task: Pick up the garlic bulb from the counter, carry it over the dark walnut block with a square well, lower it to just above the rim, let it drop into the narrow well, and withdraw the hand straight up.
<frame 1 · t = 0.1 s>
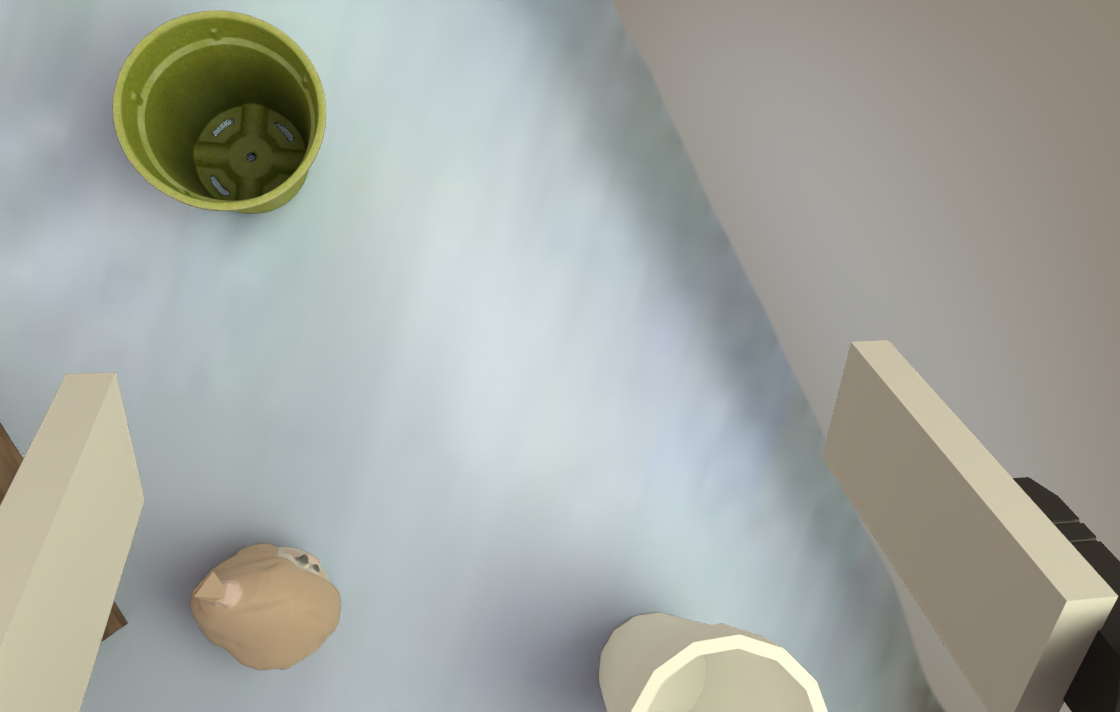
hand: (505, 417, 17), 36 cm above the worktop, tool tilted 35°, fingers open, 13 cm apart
plant pot: (252, 162, 52), on the worktop
foam cup: (651, 668, 54), on the worktop
garlic bulb: (278, 594, 51), on the worktop
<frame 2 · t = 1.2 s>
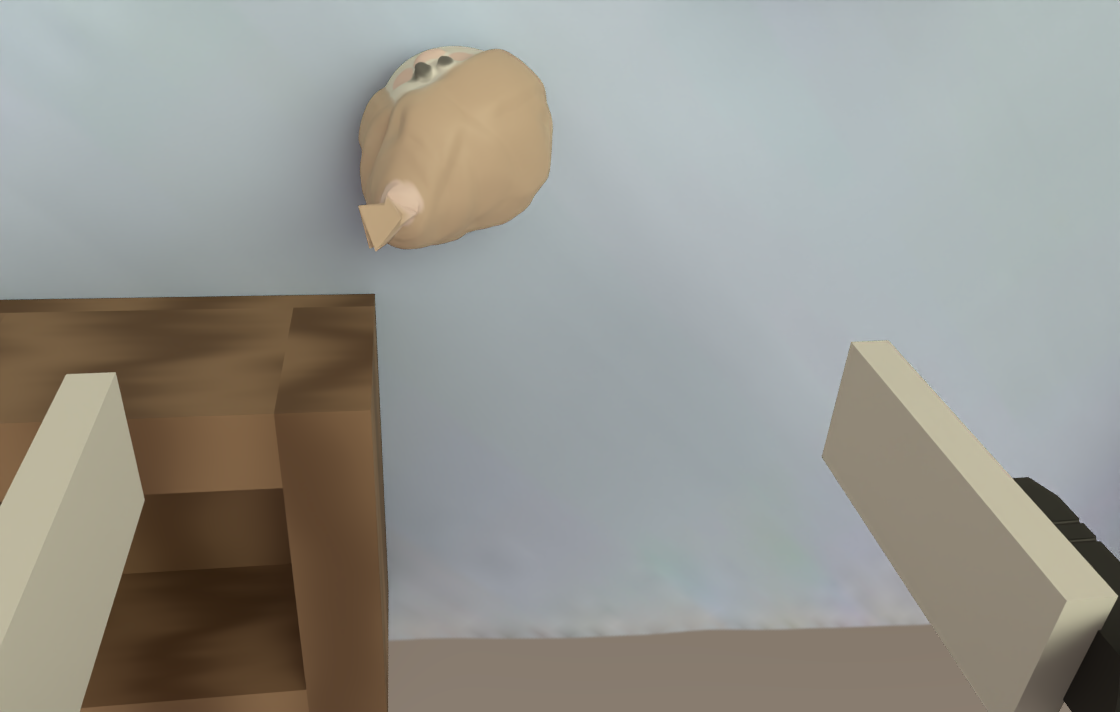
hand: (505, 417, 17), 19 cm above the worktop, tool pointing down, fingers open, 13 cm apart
walnut well: (189, 465, 40), on the worktop
garlic bulb: (451, 117, 34), on the worktop
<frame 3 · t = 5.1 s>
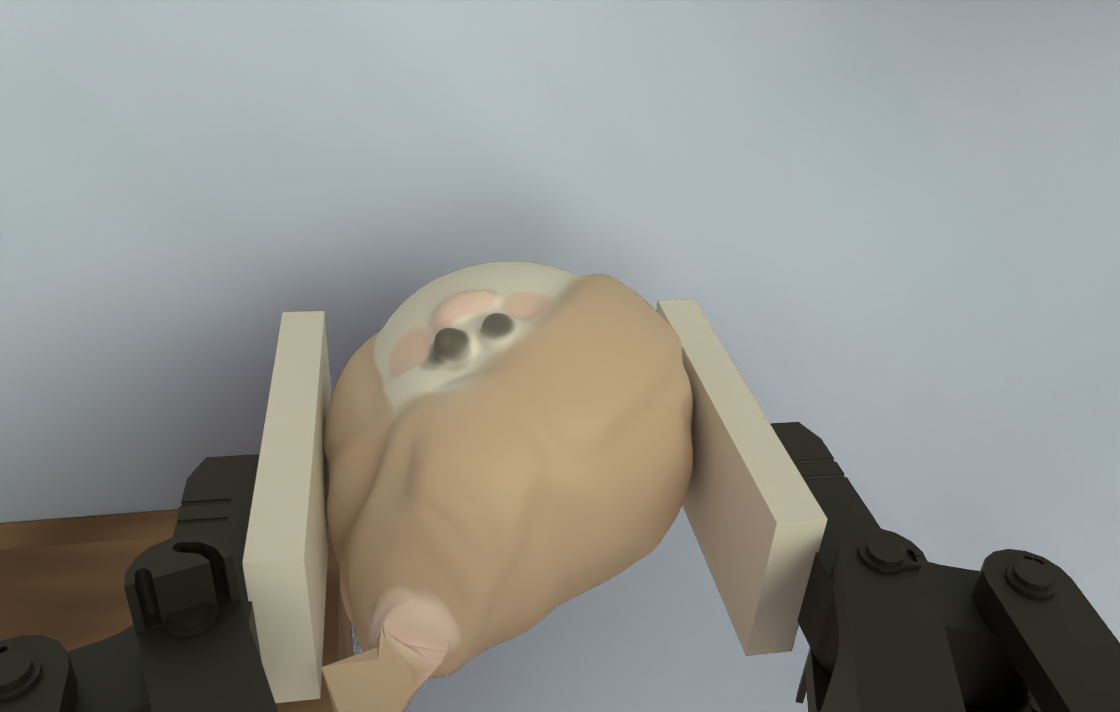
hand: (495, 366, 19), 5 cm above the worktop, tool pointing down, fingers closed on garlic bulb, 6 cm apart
garlic bulb: (490, 352, 19), point 4 cm above the worktop, touching gripper
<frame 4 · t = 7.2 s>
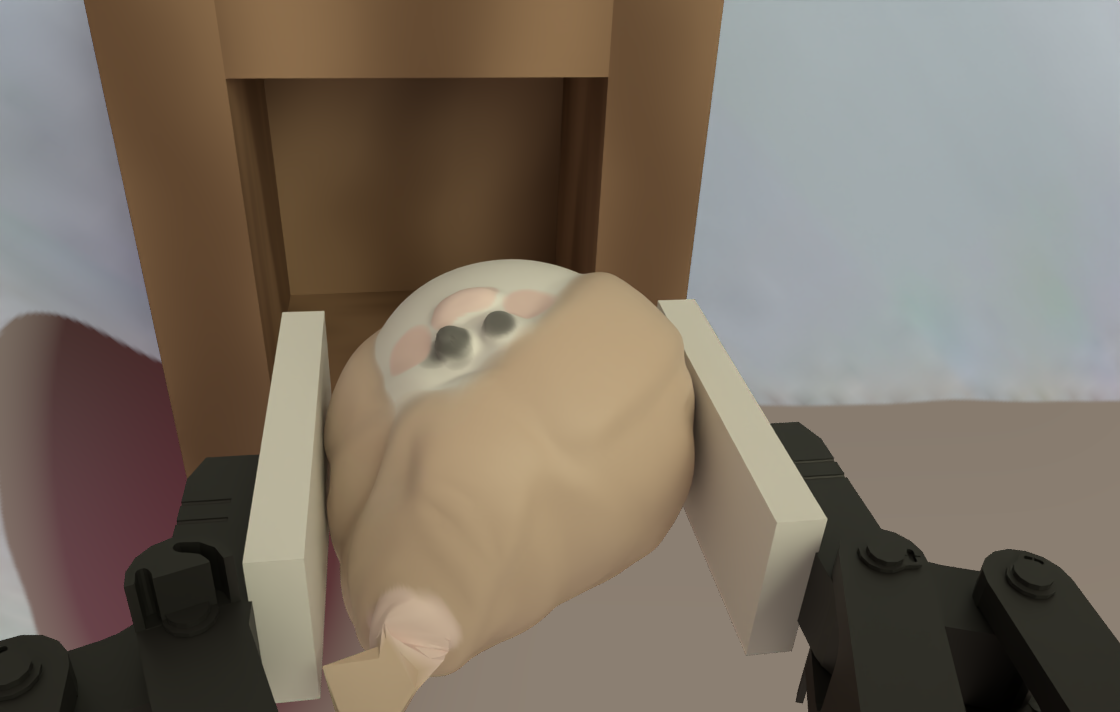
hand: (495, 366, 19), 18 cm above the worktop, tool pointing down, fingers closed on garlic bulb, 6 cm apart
walnut well: (419, 154, 34), on the worktop
garlic bulb: (491, 350, 19), point 17 cm above the worktop, touching gripper
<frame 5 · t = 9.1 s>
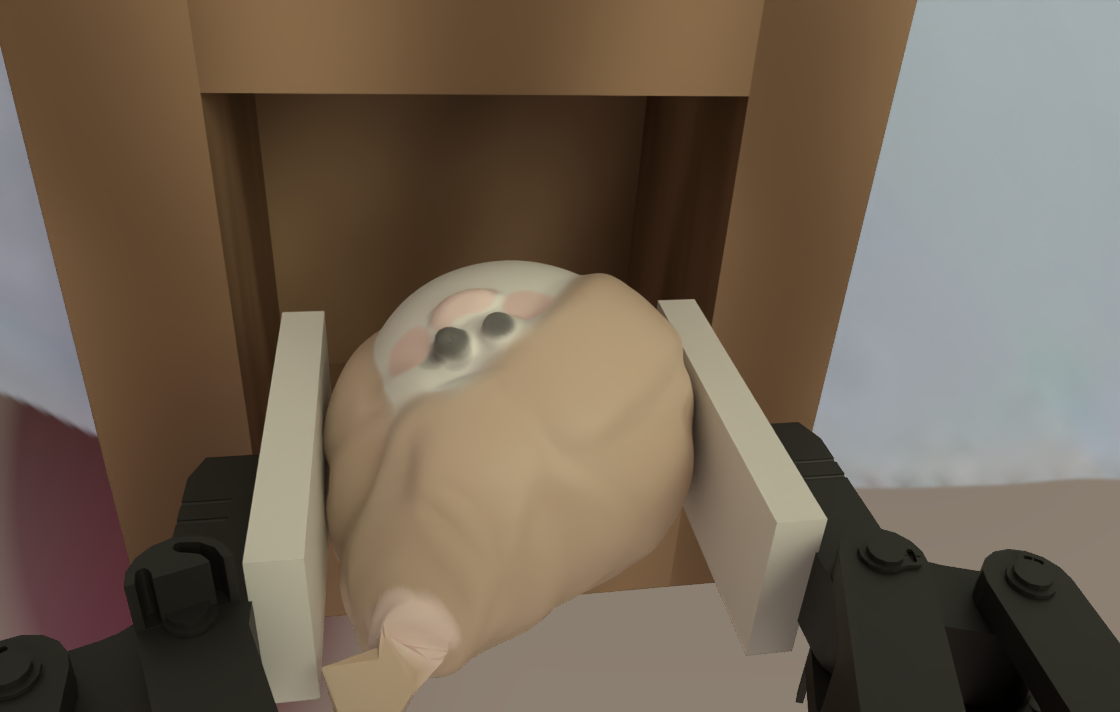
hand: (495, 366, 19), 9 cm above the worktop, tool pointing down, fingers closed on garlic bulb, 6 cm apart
walnut well: (455, 188, 26), on the worktop
garlic bulb: (490, 351, 19), point 9 cm above the worktop, touching gripper
when the fingers open (9 cm above the worktop, at t = 9.5 s): garlic bulb drops 8 cm, resting on walnut well.
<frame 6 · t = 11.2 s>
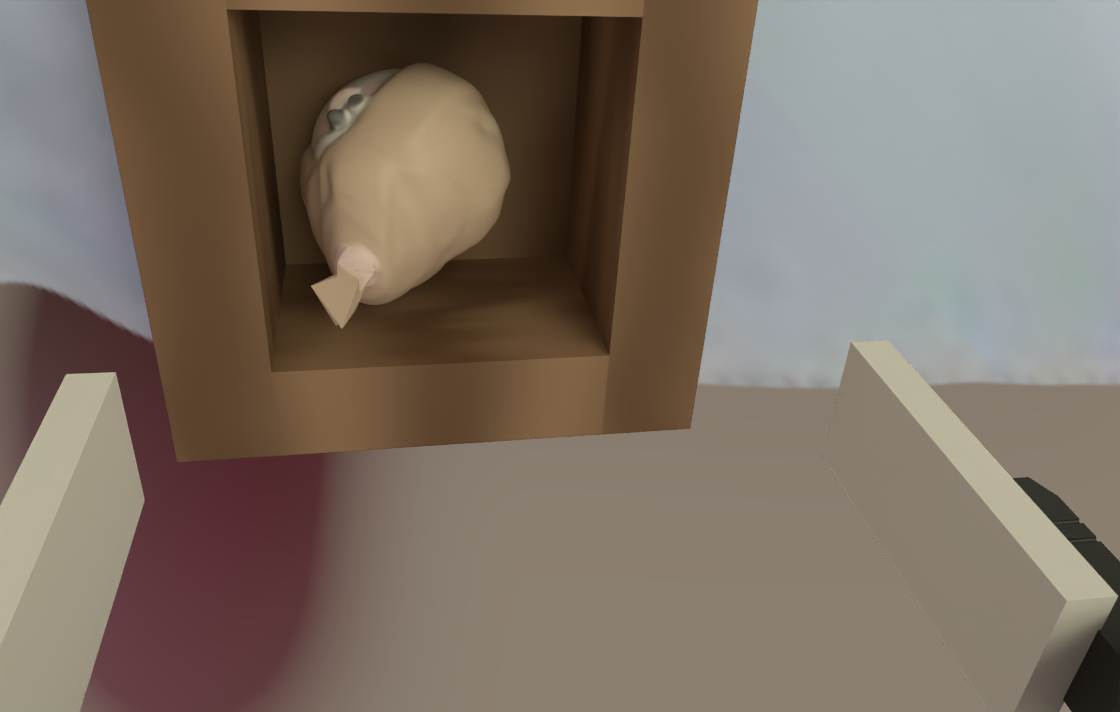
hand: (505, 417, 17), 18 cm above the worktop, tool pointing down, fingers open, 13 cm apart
walnut well: (425, 114, 32), on the worktop
garlic bulb: (400, 139, 31), point 1 cm above the worktop, touching walnut well
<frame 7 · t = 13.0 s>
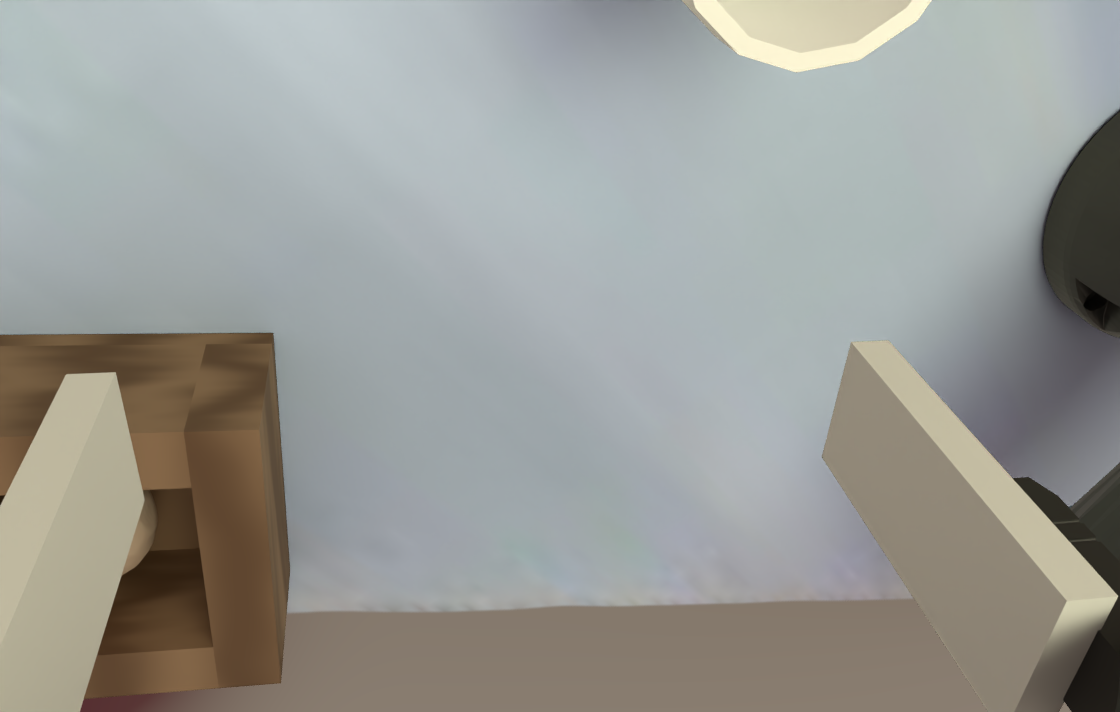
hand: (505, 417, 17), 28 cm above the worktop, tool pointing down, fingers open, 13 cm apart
walnut well: (122, 466, 49), on the worktop
garlic bulb: (101, 486, 48), point 1 cm above the worktop, touching walnut well
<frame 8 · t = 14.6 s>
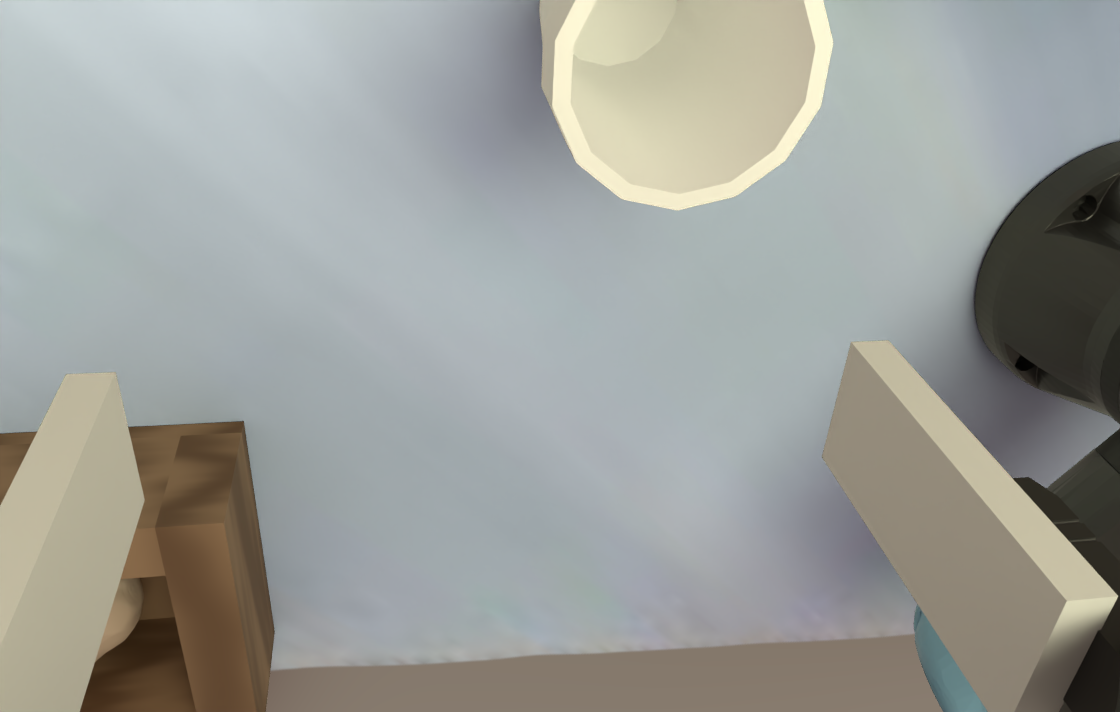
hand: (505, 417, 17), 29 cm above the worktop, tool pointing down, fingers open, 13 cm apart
walnut well: (111, 545, 53), on the worktop
garlic bulb: (92, 563, 52), point 1 cm above the worktop, touching walnut well
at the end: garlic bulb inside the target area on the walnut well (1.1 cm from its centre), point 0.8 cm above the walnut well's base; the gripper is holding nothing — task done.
